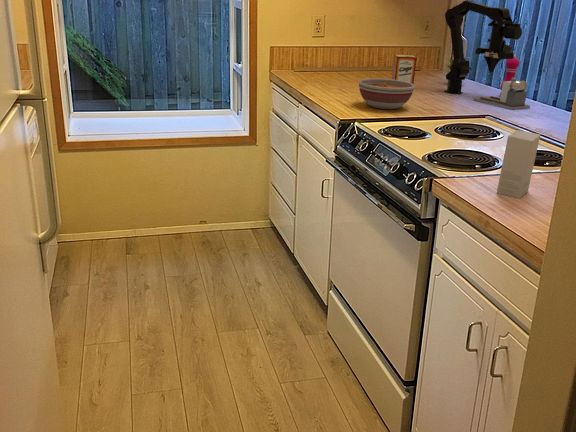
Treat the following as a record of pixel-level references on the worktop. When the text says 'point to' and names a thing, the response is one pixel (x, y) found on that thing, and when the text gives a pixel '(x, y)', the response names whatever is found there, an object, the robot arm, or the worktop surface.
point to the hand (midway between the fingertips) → (491, 72)
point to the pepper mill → (510, 70)
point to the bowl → (385, 92)
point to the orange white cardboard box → (404, 68)
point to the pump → (505, 90)
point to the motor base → (509, 97)
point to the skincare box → (518, 163)
